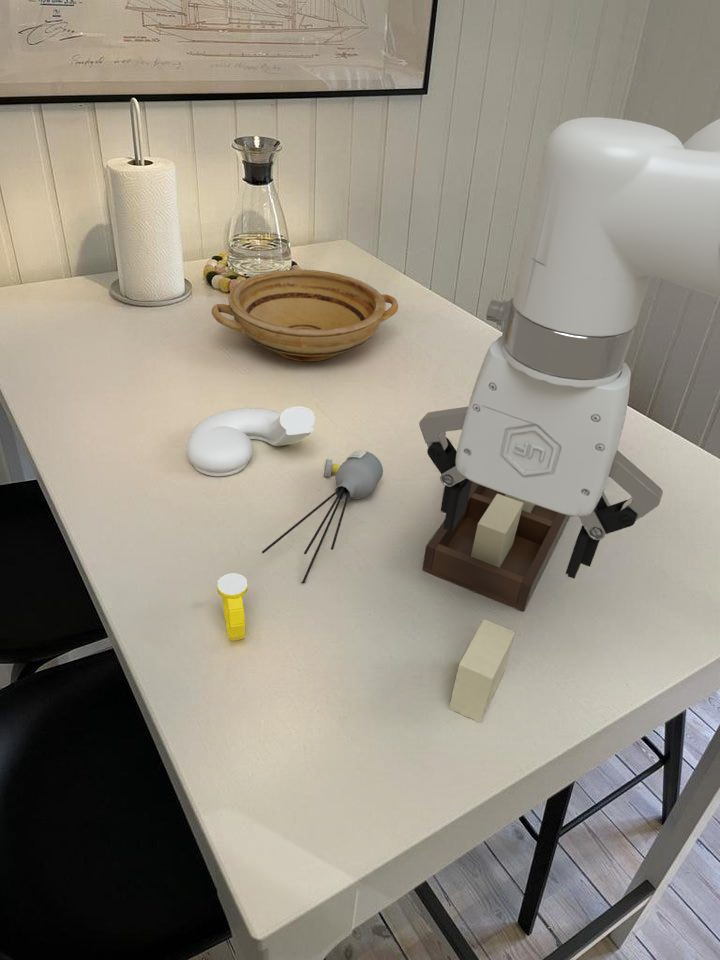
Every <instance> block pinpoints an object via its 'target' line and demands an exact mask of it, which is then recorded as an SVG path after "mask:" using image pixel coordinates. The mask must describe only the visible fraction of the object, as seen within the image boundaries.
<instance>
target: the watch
mask: <svg viewBox="0 0 720 960" xmlns="http://www.w3.org/2000/svg"><path fill="white" fill-rule="evenodd" d="M248 585H249V583H248V580H247V578H246V577H245V576H244V575H242V574H240V573H236V572H230V573H226V574H224V575H222V576H221V577H220V578H219V579H218V580H217V582H216V591H217V595H218V596H220V597H221V600H222V608H223V609H222V610H223V614H224V615H223V617H224V620H225V627H226V633H227V639H228V640H229V641H230V642H232V641H233V642H234V641H237V640H243V639H245V637H246V617H245V608H244V600H243V597H244V596H246V594H247V592H248V590H249V588H248V587H249V586H248Z"/></svg>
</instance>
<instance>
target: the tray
mask: <svg viewBox="0 0 720 960" xmlns="http://www.w3.org/2000/svg"><path fill="white" fill-rule="evenodd" d="M497 494H500V495H503V496H505V494H504V493H501V492H498V491H495V490H493V489H490V488H487V487H484V486H482V485H479V484H477V483H474V482H472V484H471V488H470V493H469V498H468V503H467V508H466V511H465V513H464V515H463V516H462V518H461V519H460V521H459V522H458V524H457V525H456V527H455V528H454V530H453V531H452V530H451V531H448V530H445V529H443V526H444V521H445V519H444V520H443V521H442V522H441V524H440V526H439V527H438V528H437V530H436V531H435V533H434V534H433V535H432V537H431V538H430V539H429V540H428V542H427V544H426V545H425V550H424V557H423V563H422V572H425V573H427V574H430V575H432V576H434V577H437V578H440V579H441V580H445V581H446V582H449V583H451V584H454V585H457V586H459V587H462V588H464V589H467V590H469V591H472V592H473V593H477V594H479V595H481V596H485V597H486V598H489V599H491V600H494V601H496V602H499V603H502V604H504V605H506V606H509V607H511V608H513V609H516V610H518V611H520V612H525V611H526V609H527V607H528V605H529V602H530V601H531V598H532V596H533V594H534V592H535V591H536V589H537V586H538V584H539V582H540V580H541V578H542V576H543V575H544V572H545V570H546V568H547V566H548V564H549V561H550V559H551V557H552V555H553V553H554V551H555V549H556V547H557V545H558V543H559V541H560V539H561V537H562V535H563V532H564V530H565V528H566V526H567V524H568V522H569V520H570V519H571V516H569V515H565V514H561V513H558V512H555V511H552V510H549V509H546V508H543V507H540V506H538V505H535V506H534V508H533V510H532V511H531V513H529V512H526V511H523V510H522V511H521V515H520V519H519V523H518V526H517V530H516V534H515V538H514V542H513V545H512V547H511V549H510V551H509V552H508V554H507V556H506V558H505V559H504V561H503V563H502V565H501V567H497V566H494V565H492V564H489V563H487V562H484V561H482V560H479V559H476V558H474V557H471V553H472V549H473V544H474V539H475V535H476V530H477V525H478V523H479V521H480V519H481V518H482V516H483V515H484V513H485V512H486V510H487V509H488V507H489V506H490V504H491V502H492V501H493V499H494V498H495V496H496V495H497Z"/></svg>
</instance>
